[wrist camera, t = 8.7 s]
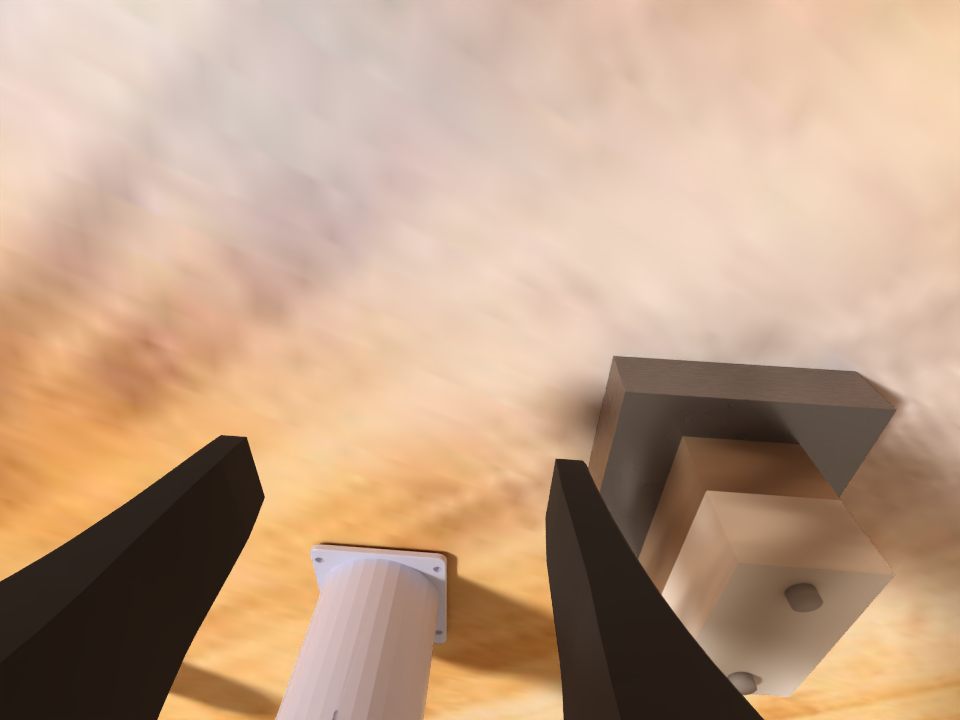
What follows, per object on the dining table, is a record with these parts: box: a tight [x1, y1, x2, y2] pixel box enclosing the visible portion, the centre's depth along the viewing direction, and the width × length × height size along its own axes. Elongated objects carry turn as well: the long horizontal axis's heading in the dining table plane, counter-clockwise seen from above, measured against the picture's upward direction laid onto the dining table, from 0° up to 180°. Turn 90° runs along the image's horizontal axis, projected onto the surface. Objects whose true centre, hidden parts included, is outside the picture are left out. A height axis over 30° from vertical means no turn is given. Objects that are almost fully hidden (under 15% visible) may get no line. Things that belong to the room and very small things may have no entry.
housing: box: [638, 436, 895, 697], centre depth 19 cm, size 5×8×6 cm, turn 178°
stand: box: [588, 356, 897, 559], centre depth 22 cm, size 11×10×2 cm
